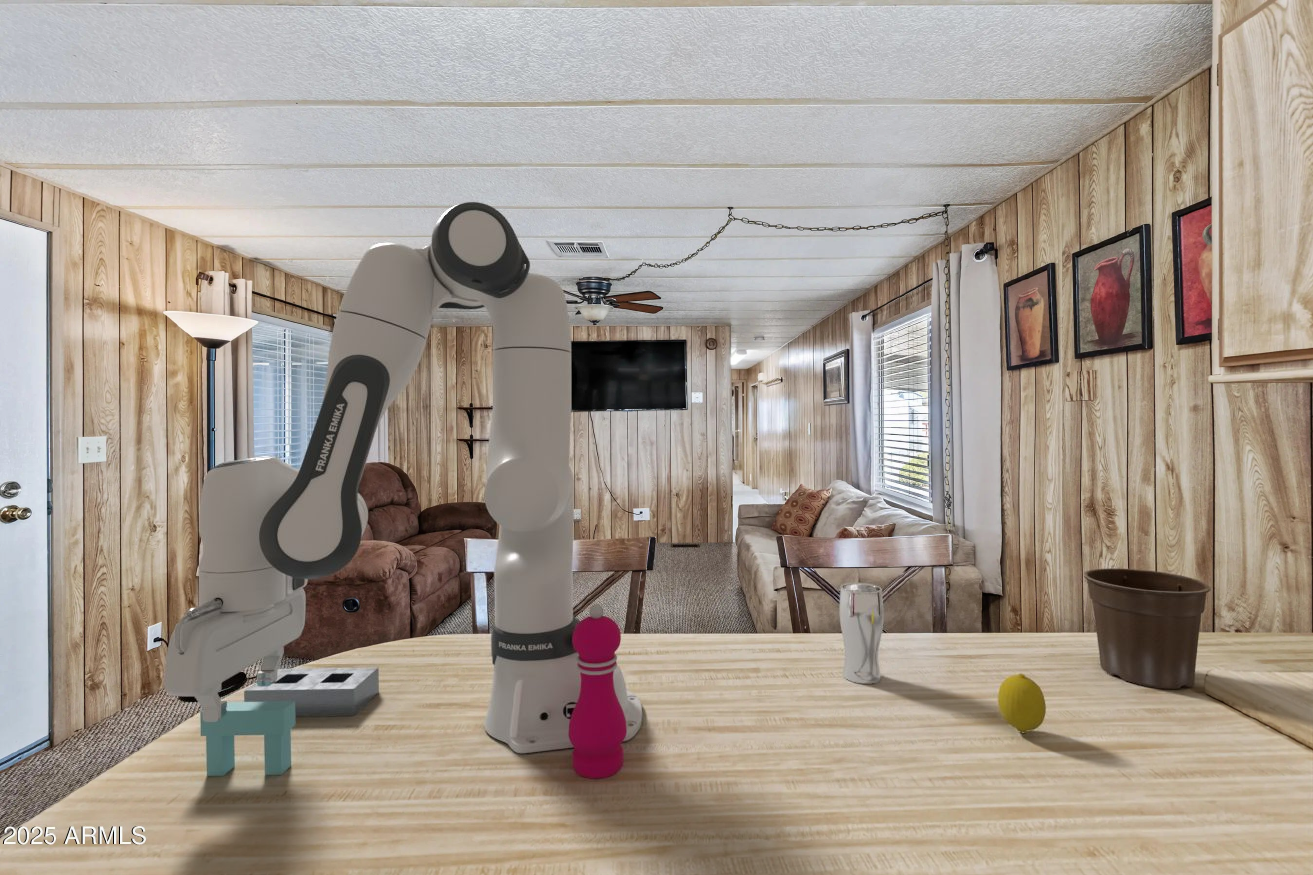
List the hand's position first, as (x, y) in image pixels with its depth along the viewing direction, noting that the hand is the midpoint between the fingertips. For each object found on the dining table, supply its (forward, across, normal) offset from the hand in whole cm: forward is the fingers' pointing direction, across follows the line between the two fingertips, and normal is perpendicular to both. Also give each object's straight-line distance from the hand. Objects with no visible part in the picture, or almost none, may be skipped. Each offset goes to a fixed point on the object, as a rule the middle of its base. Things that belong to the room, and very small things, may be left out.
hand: (242, 700), depth 73 cm
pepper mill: (+8, 0, -44) cm, 45 cm away
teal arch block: (+9, 0, -1) cm, 9 cm away
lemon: (+6, +6, -101) cm, 101 cm away
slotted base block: (+9, +18, +1) cm, 20 cm away
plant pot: (+6, +24, -133) cm, 135 cm away
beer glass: (+7, +25, -86) cm, 90 cm away
